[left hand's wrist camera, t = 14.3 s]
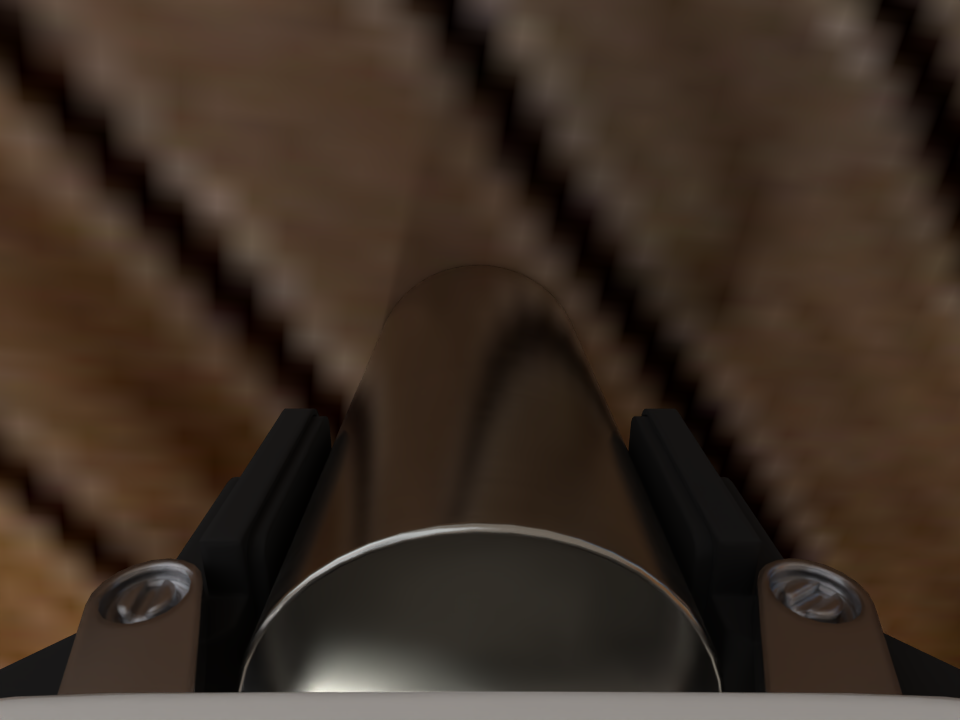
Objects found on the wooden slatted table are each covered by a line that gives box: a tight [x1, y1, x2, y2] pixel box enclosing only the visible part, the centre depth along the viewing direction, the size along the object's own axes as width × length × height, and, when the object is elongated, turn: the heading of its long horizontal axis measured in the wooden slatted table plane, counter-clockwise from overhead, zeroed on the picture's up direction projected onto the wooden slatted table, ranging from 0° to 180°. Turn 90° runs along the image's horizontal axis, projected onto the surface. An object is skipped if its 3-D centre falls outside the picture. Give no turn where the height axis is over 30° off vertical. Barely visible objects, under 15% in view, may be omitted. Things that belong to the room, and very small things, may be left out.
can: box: [236, 265, 725, 692], centre depth 12 cm, size 5×5×11 cm
